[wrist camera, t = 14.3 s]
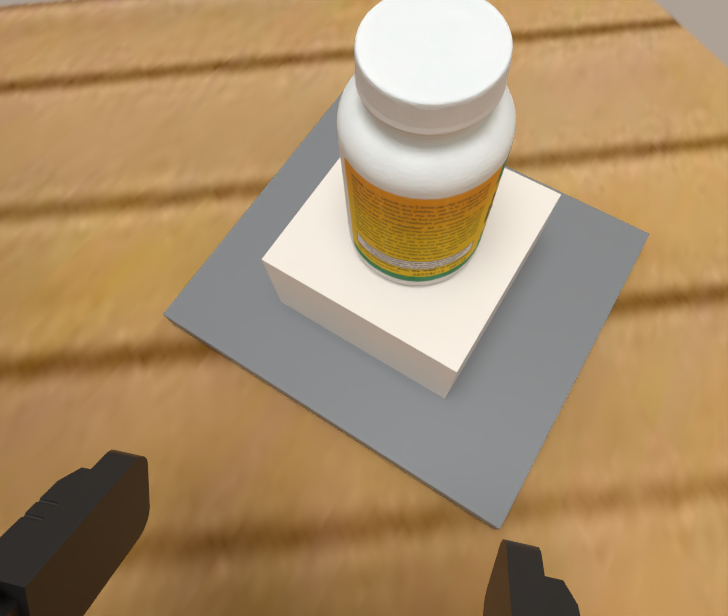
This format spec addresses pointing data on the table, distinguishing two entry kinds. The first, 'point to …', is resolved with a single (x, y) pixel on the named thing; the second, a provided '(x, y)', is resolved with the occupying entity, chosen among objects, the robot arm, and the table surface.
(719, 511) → the table surface
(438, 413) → the base board
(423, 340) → the plinth
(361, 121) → the supplement bottle
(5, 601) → the robot arm
